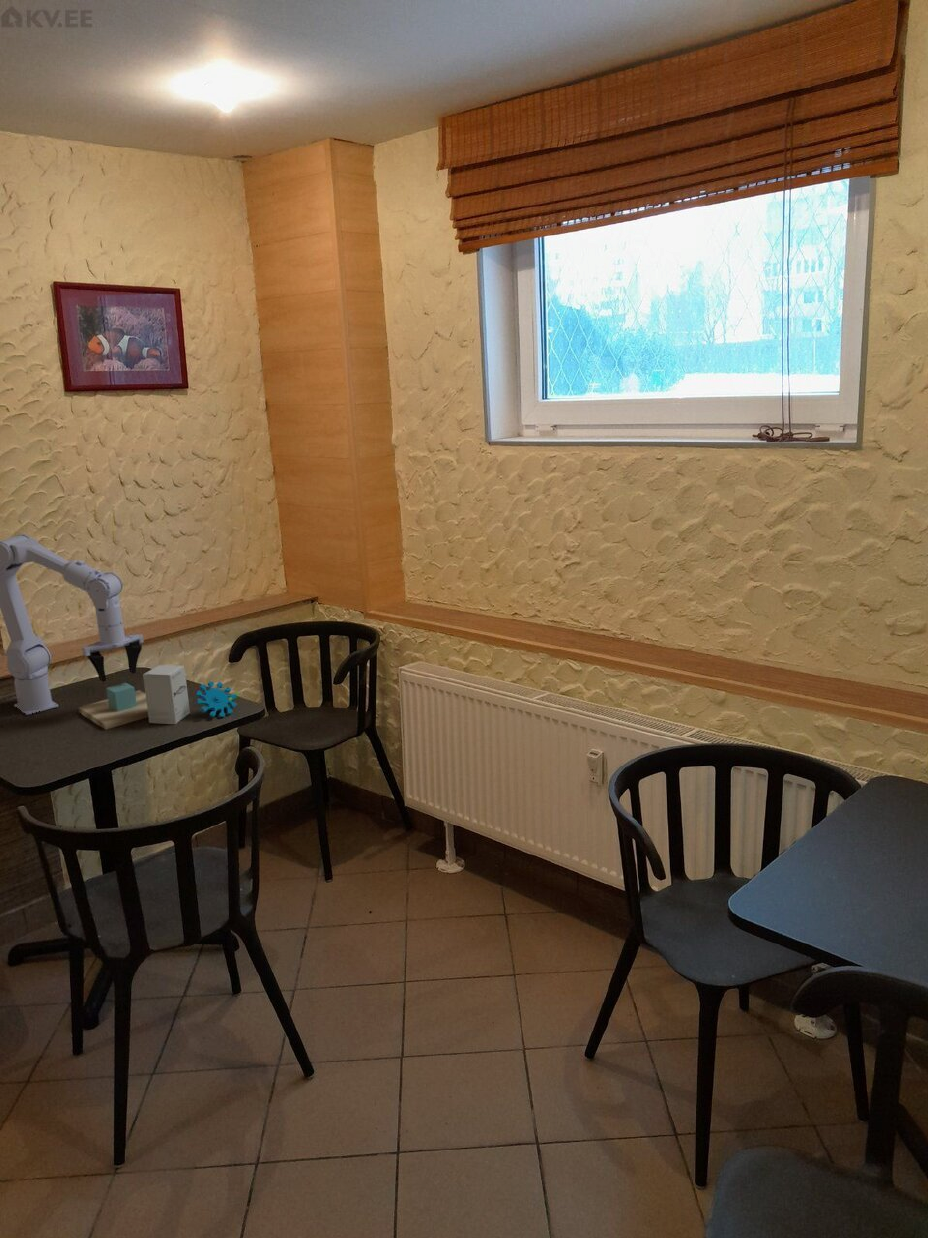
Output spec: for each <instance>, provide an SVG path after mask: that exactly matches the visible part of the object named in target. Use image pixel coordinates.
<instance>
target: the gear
mask: <svg viewBox="0 0 928 1238" xmlns="http://www.w3.org/2000/svg"><path fill="white" fill-rule="evenodd" d="M214 685H215V682H214V681H210V680H209V681H208V683H207V685H206V684H202V685H200V686H199V689H200V690H198V691H197V692H196V694H195V696H196V697H198V698H197V699H196V705H197V706H201V705H203V706H202V707H201V708H200V709H201V712H202V713H204V714H205V713H206V712H207V711H209V710H212V711H209V712H210V713H209V714H208V715H209V717H211V718H214V717H215V716H216V713H217V711H219V714H218V718H220V717H224V718H225V716H226V715H228V714H229V715H231V714H233V711H234V710H233V709H235V707H236V706H237V702H235V701H236V699H238V698H239V696H240V693H239V692H238V691H236V692H235V693H232V694H229V693H230V692H231V691H232V689H231V687H230V686H227V687H225V688H224V689H222V688H223V686H224V684H223V683H222V682H220V681H218V682H217V684H216V687H215V688H214V687H213V686H214ZM207 687H208V690H207ZM202 692H203V693H204V694H203V693H202ZM225 709H226V713H225V711H224V710H225Z"/></svg>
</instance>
